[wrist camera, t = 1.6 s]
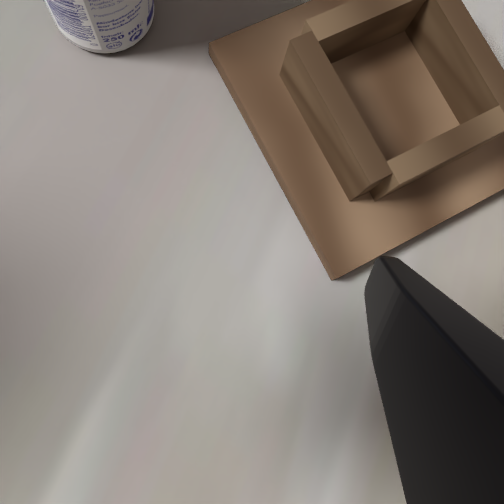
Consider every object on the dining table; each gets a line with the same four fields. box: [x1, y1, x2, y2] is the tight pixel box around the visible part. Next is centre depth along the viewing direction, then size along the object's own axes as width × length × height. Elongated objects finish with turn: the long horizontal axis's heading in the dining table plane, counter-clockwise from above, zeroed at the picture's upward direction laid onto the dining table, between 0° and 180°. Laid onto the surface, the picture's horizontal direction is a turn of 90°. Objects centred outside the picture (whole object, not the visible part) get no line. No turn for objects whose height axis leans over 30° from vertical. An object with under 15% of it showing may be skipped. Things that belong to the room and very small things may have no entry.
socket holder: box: [209, 0, 504, 280], centre depth 23 cm, size 14×14×4 cm
